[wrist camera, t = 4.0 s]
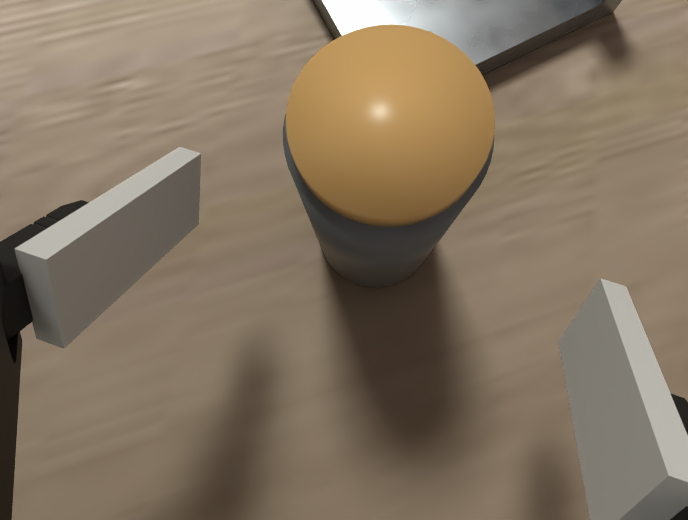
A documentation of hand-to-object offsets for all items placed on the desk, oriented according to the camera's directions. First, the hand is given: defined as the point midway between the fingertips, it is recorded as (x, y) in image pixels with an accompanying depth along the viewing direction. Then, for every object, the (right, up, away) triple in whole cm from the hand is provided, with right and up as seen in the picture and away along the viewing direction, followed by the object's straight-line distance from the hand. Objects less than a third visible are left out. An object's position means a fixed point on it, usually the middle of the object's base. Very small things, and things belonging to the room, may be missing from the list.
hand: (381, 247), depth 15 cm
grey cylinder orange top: (0, +1, +8) cm, 8 cm away
